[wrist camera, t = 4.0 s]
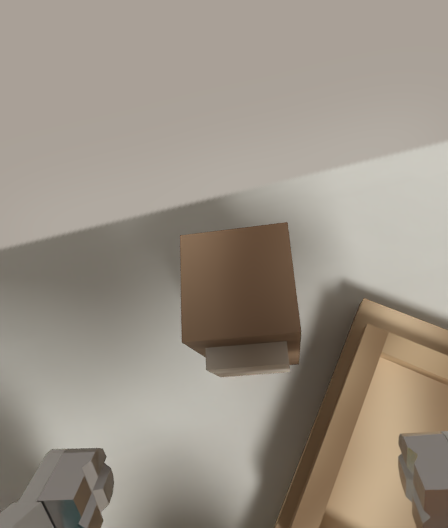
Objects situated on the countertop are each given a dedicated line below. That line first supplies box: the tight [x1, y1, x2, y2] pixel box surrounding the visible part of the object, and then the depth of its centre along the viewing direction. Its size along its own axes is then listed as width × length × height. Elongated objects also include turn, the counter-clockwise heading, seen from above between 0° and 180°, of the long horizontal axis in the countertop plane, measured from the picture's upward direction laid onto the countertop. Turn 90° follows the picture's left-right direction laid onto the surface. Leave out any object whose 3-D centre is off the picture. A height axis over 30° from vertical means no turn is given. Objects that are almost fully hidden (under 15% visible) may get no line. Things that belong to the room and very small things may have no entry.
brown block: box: [180, 222, 301, 377], centre depth 18 cm, size 4×5×9 cm
